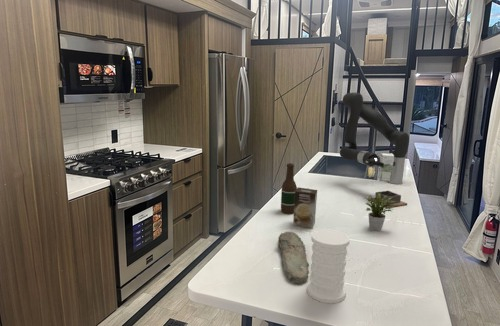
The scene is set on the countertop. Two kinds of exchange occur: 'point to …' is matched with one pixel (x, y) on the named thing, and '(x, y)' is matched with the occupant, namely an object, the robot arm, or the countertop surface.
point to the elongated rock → (294, 257)
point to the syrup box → (386, 167)
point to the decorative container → (328, 266)
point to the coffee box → (305, 207)
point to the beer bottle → (288, 191)
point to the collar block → (390, 194)
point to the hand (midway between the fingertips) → (389, 164)
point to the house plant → (377, 212)
